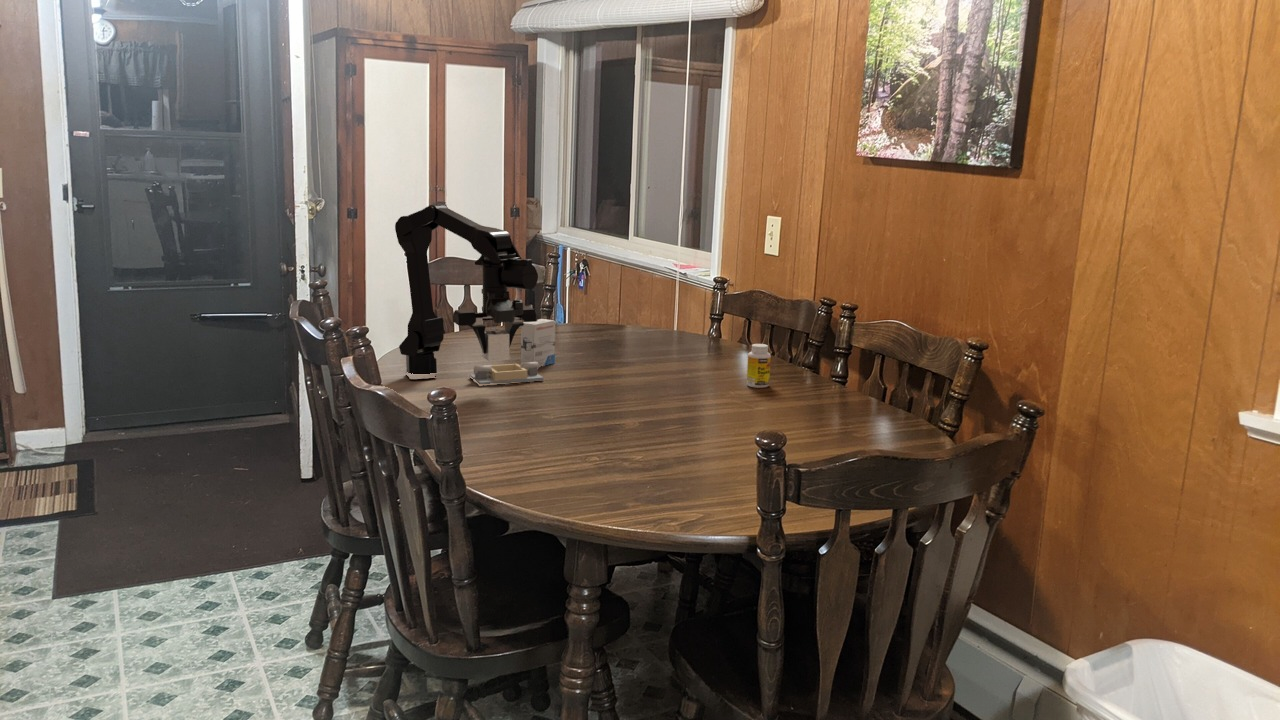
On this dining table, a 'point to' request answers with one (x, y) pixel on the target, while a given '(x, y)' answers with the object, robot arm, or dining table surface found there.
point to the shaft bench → (507, 373)
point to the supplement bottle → (758, 366)
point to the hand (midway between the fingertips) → (495, 352)
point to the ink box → (538, 342)
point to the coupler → (496, 344)
